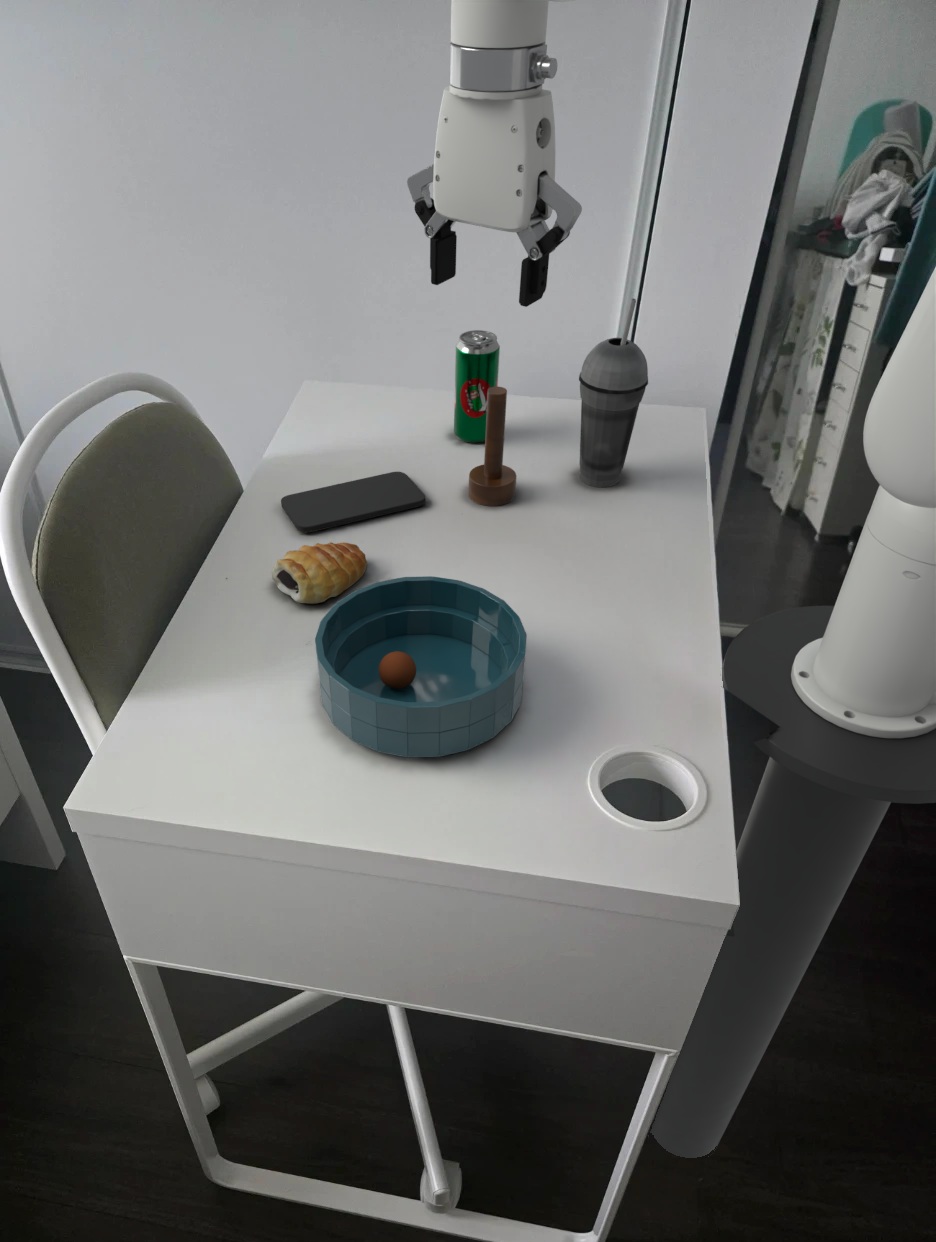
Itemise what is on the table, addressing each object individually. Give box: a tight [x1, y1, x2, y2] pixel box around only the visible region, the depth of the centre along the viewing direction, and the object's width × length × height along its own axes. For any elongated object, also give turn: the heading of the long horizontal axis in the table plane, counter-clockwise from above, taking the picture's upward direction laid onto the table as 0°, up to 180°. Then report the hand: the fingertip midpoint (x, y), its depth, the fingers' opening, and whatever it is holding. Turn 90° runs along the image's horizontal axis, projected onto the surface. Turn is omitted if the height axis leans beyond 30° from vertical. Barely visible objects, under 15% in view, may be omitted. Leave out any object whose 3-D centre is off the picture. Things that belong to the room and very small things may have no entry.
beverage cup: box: [578, 297, 649, 488], centre depth 101 cm, size 7×7×20 cm
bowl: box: [314, 575, 528, 758], centre depth 79 cm, size 17×17×6 cm
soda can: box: [453, 329, 501, 444], centre depth 112 cm, size 5×5×12 cm
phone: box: [280, 471, 426, 533], centre depth 104 cm, size 7×1×15 cm
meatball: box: [379, 651, 416, 689], centre depth 80 cm, size 3×3×3 cm
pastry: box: [271, 541, 368, 605], centre depth 92 cm, size 9×7×4 cm
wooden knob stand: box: [468, 386, 517, 507], centre depth 101 cm, size 5×5×12 cm
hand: (486, 291), depth 87 cm, fingers open, 9 cm apart
